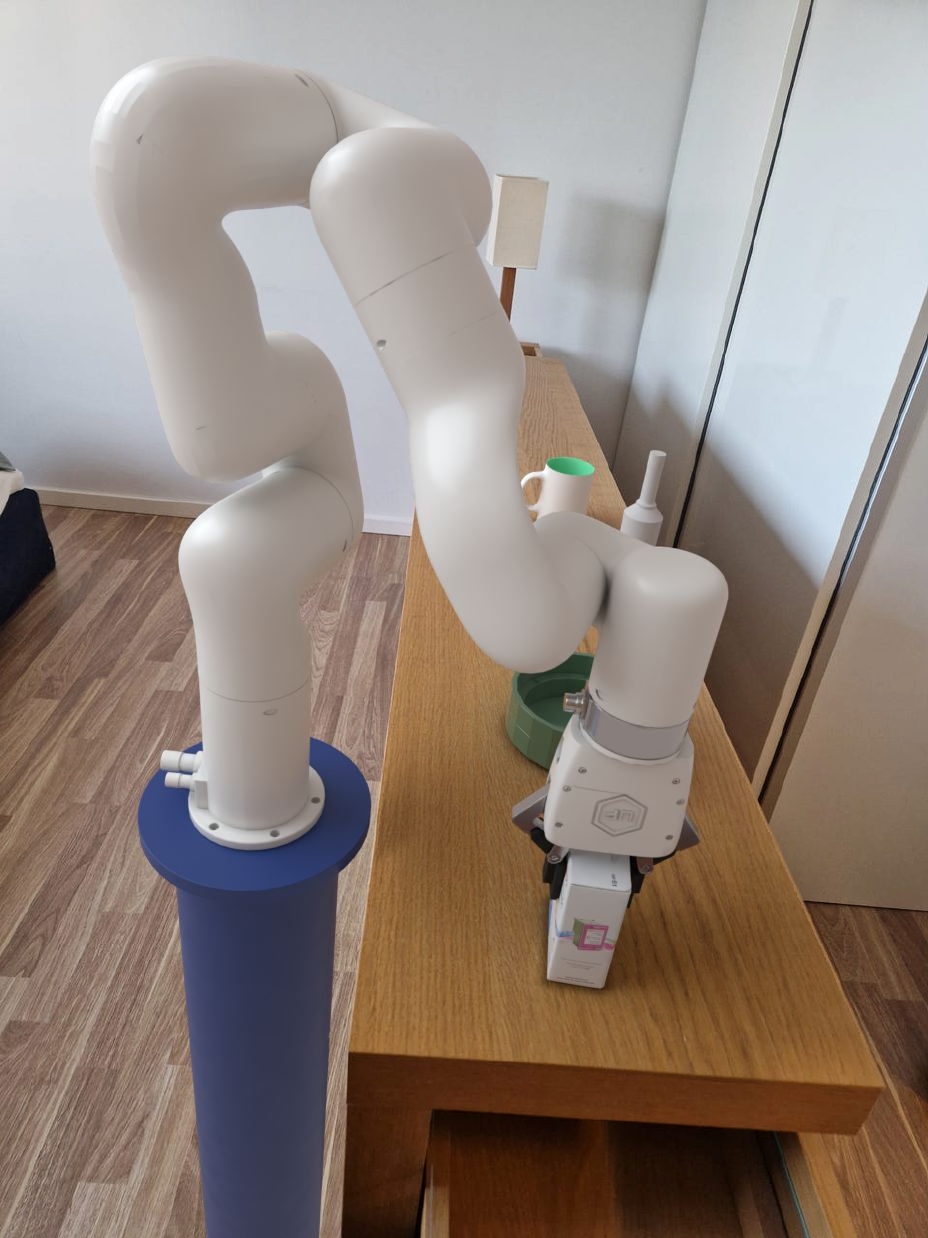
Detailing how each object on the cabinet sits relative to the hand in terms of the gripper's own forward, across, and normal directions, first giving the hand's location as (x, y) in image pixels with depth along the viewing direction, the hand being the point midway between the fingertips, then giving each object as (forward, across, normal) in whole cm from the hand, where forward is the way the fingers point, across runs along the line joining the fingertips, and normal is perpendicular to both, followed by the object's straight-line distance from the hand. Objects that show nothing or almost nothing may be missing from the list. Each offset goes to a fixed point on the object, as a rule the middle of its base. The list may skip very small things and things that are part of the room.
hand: (588, 888), depth 72 cm
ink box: (+7, 0, 0) cm, 7 cm away
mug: (+7, +1, +86) cm, 86 cm away
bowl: (+7, +2, +29) cm, 30 cm away
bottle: (+7, +10, +56) cm, 57 cm away
